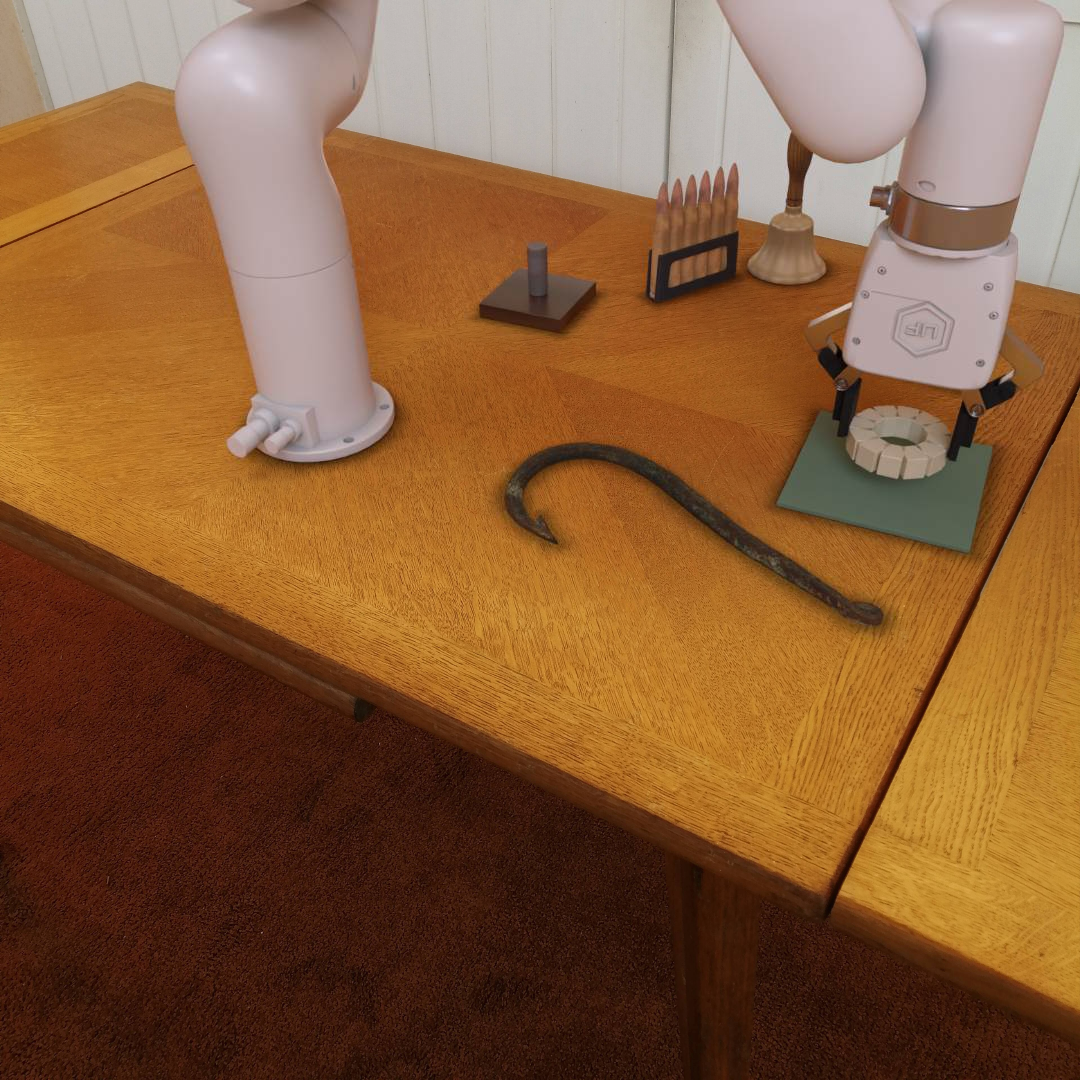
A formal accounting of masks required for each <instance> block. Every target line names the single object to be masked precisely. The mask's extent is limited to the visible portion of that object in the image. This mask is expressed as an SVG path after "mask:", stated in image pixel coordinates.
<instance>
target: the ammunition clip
mask: <svg viewBox="0 0 1080 1080" xmlns="http://www.w3.org/2000/svg"><path fill="white" fill-rule="evenodd" d="M725 179H726V178H725V172H724V168H723V167H722V166H718V169H717V171H716V174H715V177H714V180H713V186H712V185H711V184H712V183H711V177H710V174H709V171H708V170H705V171H704V173H703V174H702V177H701V179H700V183H699V189H698V186H697V181H696V177H695V175H694V174H693V173H692V174H691V175H690V176H689V178H688V181H687V184H686V187H685V194H684V191H683V186H682V181H681V179H680V178H679V177H678V178H677V179H675V182H674V185H673V188H672V191H671V196H670V197H671V198H670V199H669V191H668V187H667V184H666V182H665V181H663V182H662V183H661V185H660V187H659V190H658V194H657V198H656V208H655V215H654V217H655V218H654V222H653V226H652V243H651V244H652V245H651V249H649V250H648V262H647V263H648V264H647V273H646V274H647V275H646V284H645V285H646V286H645V287H646V288H645V297H647V298H648V299H649V300H651V301H653V302H654V303H657V304H659V303H662V302H666V301H668V300H671V299H674V298H677V297H678V298H679V297H680V296H683V295H686V294H688V293H689V294H690V293H693V292H696V291H698V290H699V291H700V290H702V289H704V288H708V287H710V286H714V285H717V284H720V283H723V282H725V281H728V280H731V279H734V278H737V266H738V252H739V251H738V250H739V239H740V238H739V237H740V231H739V230H737V227H738V217H739V216H738V215H739V184H740V183H739V181H740V176H739V169H738V165H737V162H733V164H732V165H731V167H730V170H729V173H728V176H727V180H725Z"/></svg>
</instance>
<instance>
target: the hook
mask: <svg viewBox="0 0 1080 1080" xmlns="http://www.w3.org/2000/svg"><path fill="white" fill-rule="evenodd" d="M573 460H596V461H604V462H608V463H612V464H616V465H617V466H620V467H624V468H625V469H628V470H630V471H633V472H634V473H636V474H637V475H640V476H642V477H644V478H645V479H647V480H649V481H650V482H652V484H655V485H656V486H657V487H659V488H660V489H661V490H662V491H664V493H666V494H667V495H668V496H670V497H671V498H672V499H673V500H675V501H676V503H678V504H679V505H680V506H681V507H683V508H684V509H685V510H687V511H688V512H689V513H690V514H692V515H693V516H694V517H695V518H697V519H698V520H700V521H701V523H703V524H704V525H706V526H707V527H708V528H709V529H710V530H712V531H713V532H714V533H716V534H717V535H718V536H719V537H721V538H722V539H723V540H725V541H726V542H728V543H729V545H731V546H733V547H734V548H735V549H736V550H738V551H739V552H741V553H742V554H744V555H745V556H747V557H748V558H750V559H752V560H753V561H754V562H756V563H759V564H761V565H762V566H764V567H765V568H767V569H769V570H770V571H772V572H774V573H775V574H776V575H778V576H780V577H782V578H783V579H785V580H786V581H788V582H790V583H791V584H792V585H795V586H797V587H798V588H799V589H801V590H803V591H804V592H806V593H808V594H810V595H811V596H813V597H814V598H817V599H818V600H820V601H822V602H823V603H824V604H826V605H827V606H829V607H830V608H831V609H833V610H834V611H836V612H837V613H839V614H840V615H841V616H843V617H844V618H846V619H847V620H849V621H850V622H854V623H856V624H858V625H860V626H863V627H869V628H872V627H873V628H875V627H877V626H880V625H881V624H882V623H883V619H884V616H885V615H884V612H883V609H882V608H880V607H879V606H877V605H875V604H873V603H870V602H864V601H851V600H850V599H848V598H846V597H845V596H844V595H843V594H842V593H840V592H839V591H837V590H836V589H835V588H833V587H831V585H829V584H827V583H826V582H824V581H823V580H821V579H820V578H818V577H817V576H816V575H814V574H813V573H812V572H810V571H808V570H807V569H805V568H804V567H802V565H800V564H798V563H797V562H795V561H794V560H793V559H791V558H789V557H788V556H786V555H785V554H783V553H782V552H780V551H778V550H776V549H775V548H773V547H772V546H770V545H769V544H768V543H766V542H764V541H762V540H761V539H759V538H758V537H756V536H755V535H754V534H752V533H750V532H749V531H747V530H746V529H745V528H743V527H741V526H740V525H739V524H737V522H735V521H734V520H733V519H731V518H730V517H729V516H727V514H726V513H724V512H723V511H721V510H720V509H718V508H717V507H716V506H714V505H713V504H712V503H711V502H709V501H708V500H707V499H706V498H704V497H703V496H702V495H701V494H699V492H697V491H696V490H694V488H692V487H691V486H690V485H689V484H687V482H685V481H684V480H683V479H681V478H680V477H679V476H678V475H676V474H674V473H673V472H671V471H669V470H668V469H666V468H665V467H663V466H661V465H659V464H657V463H656V462H655V461H653V460H651V459H649V458H647V457H646V456H642V455H641V454H638V453H635V452H633V451H632V450H629V449H626V448H622V447H619V446H618V447H617V446H615V445H609V444H602V443H593V442H571V443H564V444H559V445H555V446H550V447H548V448H546V449H543V450H540V451H538V452H536V453H535V454H533V455H532V456H530V457H529V458H528V459H526V460H525V461H524V462H522V464H521V465H519V467H518V468H517V469H516V470H515V471H514V473H513V475H512V476H511V477H510V479H509V481H508V483H507V485H506V490H505V492H504V505H505V506H504V507H505V510H506V512H507V514H508V515H509V516H510V518H511V519H512V520H513V521H514V523H516V524H517V525H518V526H519V527H521V528H522V529H524V530H525V531H528V532H529V533H531V534H533V535H534V536H536V537H538V538H541V539H543V540H545V541H547V542H549V543H552V544H555V545H557V546H559V542H558V540H557V539H556V537H555V535H554V534H553V533H552V532H551V530H550V528H549V527H548V524H547V522H546V520H545V518H544V517H543V516H542V515H541V514H539V515H538V517H537V518H536V521H535V520H533V519H532V518H531V517H530V516H529V514H527V513H528V512H527V511H526V510H525V506H524V503H523V501H524V500H523V496H524V492H525V490H526V487H527V485H528V484H529V483H530V481H531V480H532V479H533V478H534V477H535V476H536V475H537V474H539V473H540V472H542V471H543V470H544V469H547V468H549V467H550V466H553V465H556V464H559V463H561V462H566V461H567V462H568V461H573Z"/></svg>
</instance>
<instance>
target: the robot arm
mask: <svg viewBox="0 0 1080 1080" xmlns="http://www.w3.org/2000/svg"><path fill="white" fill-rule="evenodd" d="M233 1H234V2H236V3H237V4H240V5H241V6H244V7H246V8H249V9H251V10H250V11H249V12H246V13H243V14H242V15H239V16H237V17H236V18H234V19H233V20H231V21H229V22H227V23H225V24H224V25H222V26H220V27H218V28H215V30H213V31H211V32H210V33H208V35H205V37H203V38H202V39H201V40H200V41H198V42H197V44H196V45H195V46H194V47H193V48H192V49H191V50H190V51H189V53H188V54H187V55H186V56H185V59H184V61H183V62H182V64H181V66H180V68H179V72H178V74H177V78H176V81H175V82H176V83H175V86H174V110H175V116H176V121H177V125H178V128H179V131H180V134H181V137H182V139H183V143H184V145H185V146H186V147H185V148H186V150H187V151H188V154H189V156H190V158H191V160H192V163H193V165H194V167H195V169H196V171H197V173H198V176H199V178H200V182H201V183H202V185H203V189H204V191H205V194H206V197H207V199H208V203H209V206H210V210H211V212H212V215H213V216H212V217H213V219H214V223H215V227H216V231H217V234H218V238H219V241H220V245H221V249H222V254H223V257H224V262H225V265H226V267H227V271H228V276H229V280H230V284H231V287H232V291H233V292H232V293H233V296H234V300H235V305H236V308H237V313H238V316H239V321H240V324H241V329H242V334H243V337H244V341H245V345H246V349H247V353H248V358H249V361H250V366H251V370H252V374H253V378H254V382H255V386H256V391H257V393H256V394H255V395H253V396H252V397H251V398H250V403H251V407H250V410H249V411H248V413H247V416H246V422H245V423H246V425H243V426H242V427H240V428H239V429H237V431H235V432H234V433H233V434H231V435H230V436H229V437H228V438H227V439H226V447H227V449H228V450H229V452H230V453H231V454H232V455H234V456H235V457H237V458H240V459H243V458H246V456H248V454H250V453H251V452H252V451H254V450H255V449H258V450H259V451H261V452H262V453H263V454H265V455H268V456H270V457H273V458H275V459H278V460H283V461H287V462H294V463H295V462H296V463H319V462H320V463H321V462H328V461H333V460H339V459H342V458H345V457H349V456H352V455H355V454H357V453H359V452H362V451H363V450H366V449H368V448H370V447H371V446H372V445H374V444H375V443H376V442H378V441H380V440H381V439H382V438H383V437H384V436H385V435H387V433H388V432H389V430H390V429H391V427H392V426H393V424H394V420H395V416H396V415H395V412H396V411H395V403H394V399H393V397H392V395H391V394H390V392H389V390H387V388H385V387H384V386H383V385H381V384H379V383H377V382H376V381H374V380H373V378H372V372H371V365H370V359H369V353H368V347H367V341H366V335H365V327H364V321H363V315H362V308H361V302H360V296H359V290H358V284H357V277H356V270H355V263H354V257H353V252H352V245H351V242H350V234H349V229H348V228H349V227H348V224H347V218H346V214H345V209H344V205H343V201H342V199H341V194H340V193H339V190H338V188H337V186H336V183H335V180H334V178H333V176H332V174H331V171H330V168H329V167H328V164H327V160H326V157H325V153H324V146H323V144H324V141H325V140H326V139H327V138H328V137H329V136H330V134H331V133H332V132H334V130H336V129H337V128H338V127H339V126H340V125H341V124H342V123H343V122H344V121H345V120H347V118H348V117H349V116H350V115H351V114H352V113H353V112H354V110H355V109H356V108H357V107H358V105H359V103H360V101H361V99H362V98H363V95H364V93H365V90H366V87H367V84H368V80H369V75H370V70H371V64H372V58H373V52H374V43H375V36H376V28H377V27H376V26H377V22H378V21H377V19H378V12H379V5H380V0H233ZM715 2H716V3H717V5H718V7H719V9H720V11H721V13H722V15H723V17H724V19H725V21H726V22H727V24H728V26H729V29H730V31H731V33H732V34H733V36H734V38H735V40H736V42H737V43H738V45H739V47H740V49H741V50H742V52H743V54H744V56H745V58H746V59H747V61H748V63H749V65H750V67H751V68H752V69H753V71H754V73H755V75H756V76H757V77H758V79H759V81H760V82H761V84H762V86H763V88H764V89H765V91H766V93H767V94H768V96H769V99H770V100H771V101H772V103H773V104H774V106H775V108H776V109H777V112H778V113H779V114H780V116H781V118H782V119H783V120H784V122H785V124H786V125H787V127H788V128H789V130H790V131H792V133H793V134H794V135H795V137H796V138H797V139H798V140H799V141H800V142H801V143H802V144H803V145H804V146H805V147H806V148H807V149H809V150H810V151H811V152H812V153H813V155H816V156H818V157H819V158H821V159H823V160H826V161H829V162H832V163H835V164H845V165H852V164H853V165H854V164H862V163H865V162H869V161H873V160H876V159H877V158H879V157H882V156H884V155H886V154H887V153H889V152H890V151H891V150H892V149H894V148H895V147H896V146H898V145H899V144H900V143H901V142H902V141H903V140H904V144H903V149H902V154H901V159H900V164H899V168H898V174H897V180H893V182H892V184H886V185H885V186H881V185H873V187H872V190H871V194H870V198H869V207H873V208H880V211H885V214H884V215H885V216H888V217H886V218H885V219H883V220H882V221H881V222H880V223H879V225H878V226H876V228H875V230H874V232H873V235H872V237H871V239H870V241H869V244H868V246H867V249H866V252H865V255H864V258H863V261H862V265H861V267H860V271H859V275H858V279H857V281H856V286H855V290H854V294H853V297H852V298H853V299H852V301H850V302H848V303H846V304H844V305H842V306H840V307H837V308H835V309H833V310H831V311H829V312H827V313H825V314H823V315H821V316H818V317H816V318H814V319H812V320H810V321H809V322H808V324H807V325H806V327H805V329H804V331H803V336H804V338H805V339H806V341H807V343H808V344H809V346H810V348H811V350H812V351H813V353H815V354H816V356H817V361H818V363H819V364H820V366H821V367H822V368H823V369H824V370H825V372H826V373H827V374H828V376H829V377H830V378H831V380H832V381H833V382H832V384H833V387H834V388H835V389H836V394H835V399H834V405H833V409H832V410H833V411H832V413H833V415H832V420H837V421H840V422H839V427H838V432H837V437H842V438H844V436H846V437H847V435H848V432H849V427H850V424H851V422H852V420H853V417H854V416H855V417H856V414H857V413H856V412H857V407H858V402H859V398H860V394H861V393H860V392H861V389H862V383H863V378H861V376H863V374H864V373H866V374H869V375H874V376H880V377H884V378H889V379H894V380H899V381H900V380H901V381H905V382H910V383H915V384H916V383H917V384H920V385H926V386H932V387H937V388H943V389H949V390H955V391H959V390H960V391H959V394H960V395H961V398H962V400H961V403H960V407H959V410H958V414H957V418H956V421H955V424H954V429H953V433H952V436H951V437H952V439H951V443H950V446H949V450H948V454H947V457H946V458H949V461H954V462H956V459H957V456H958V452H959V449H960V446H962V447H967V448H970V447H971V443H972V442H973V440H974V437H975V434H976V433H975V432H976V430H977V426H978V423H979V420H980V418H981V417H984V415H985V414H986V411H989V410H990V409H993V408H995V407H997V406H999V405H1001V404H1003V403H1005V402H1007V401H1009V400H1011V399H1013V398H1014V397H1015V395H1016V394H1018V392H1019V393H1020V392H1021V391H1023V390H1025V389H1026V388H1028V387H1029V386H1031V385H1032V384H1034V383H1035V382H1038V381H1039V380H1040V379H1041V378H1042V377H1043V375H1044V370H1045V362H1044V361H1043V360H1042V359H1041V358H1040V357H1039V356H1038V355H1037V354H1036V353H1035V352H1034V351H1033V350H1032V349H1031V348H1030V347H1029V346H1028V345H1027V344H1026V343H1025V342H1024V341H1023V340H1022V339H1021V338H1020V337H1019V336H1018V334H1016V333H1015V331H1013V330H1012V329H1011V328H1010V326H1008V324H1007V322H1008V318H1009V314H1010V309H1011V305H1012V301H1013V297H1014V291H1015V285H1016V280H1017V279H1016V277H1017V270H1018V261H1019V260H1018V259H1019V240H1018V238H1017V236H1016V234H1014V233H1013V232H1012V231H1011V230H1012V227H1013V223H1014V220H1015V216H1016V213H1017V209H1018V206H1019V201H1020V198H1021V195H1022V192H1023V188H1024V185H1025V181H1026V178H1027V174H1028V169H1029V166H1030V162H1031V159H1032V155H1033V151H1034V148H1035V143H1036V140H1037V137H1038V133H1039V129H1040V125H1041V123H1042V119H1043V115H1044V111H1045V109H1046V104H1047V101H1048V97H1049V94H1050V90H1051V87H1052V82H1053V80H1054V75H1055V72H1056V68H1057V64H1058V62H1059V58H1060V54H1061V51H1062V47H1063V41H1064V37H1065V24H1064V20H1063V17H1062V15H1061V13H1060V12H1059V11H1058V10H1057V9H1056V8H1055V7H1054V6H1052V5H1050V4H1047V3H1046V2H1043V1H1042V0H1041V1H1040V0H715ZM844 329H845V333H844V340H843V344H842V348H840V346H839V345H838V344H837V343H836V342H835V341H833V337H832V334H835V333H837V332H839V331H841V330H844ZM999 354H1000V356H1001V357H1003V359H1004V360H1005V361H1006V362H1008V364H1009V365H1010V366H1011V367H1013V369H1012V370H1010V372H1008V373H1005V374H1002V375H1000V376H998V377H996V378H994V379H993V380H991V381H990V379H991V377H992V376H993V375H992V374H993V371H994V369H995V366H996V365H997V361H998V359H999V358H998V357H999Z"/></svg>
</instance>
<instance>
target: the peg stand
mask: <svg viewBox="0 0 1080 1080" xmlns="http://www.w3.org/2000/svg"><path fill="white" fill-rule="evenodd" d="M526 254H527V255H526V259H527V268H523V267H518V268H517V269H515V270H514V271H513V272H512V273H511V274H510V275H509V276H508V277H506V278H505V280H503V281H502V282H501V283H500V284H499V285H498V286H497V287H496V288H494V289H493V290H492V291H491V292H490V293H489V294H488V295H486V296H485V297H484V298H483V299H482V300H481V301H480V302H479V303H478V308H479V309H478V310H479V318H483V319H489V320H494V321H499V322H504V323H508V324H514V325H518V326H523V327H528V328H533V329H538V330H542V331H543V330H544V331H547V332H553V333H559V334H561V333H562V332H563V331H564V330H566V328H567V327H568V326H569V325H570V323H572V321H574V319H575V318H576V317H577V316H578V315H579V314H580V313H581V312H582V311H583V310H584V308H586V306H587V305H588V304H589V303H590V302H591V301H592V300H593V299H594V298H595V297H596V295H597V281H595V280H588V279H584V278H577V277H572V276H567V275H562V274H555V273H549V268H548V267H549V263H548V245H547V243H546V242H543V241H532V242H530V243H528V244H527V245H526Z"/></svg>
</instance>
